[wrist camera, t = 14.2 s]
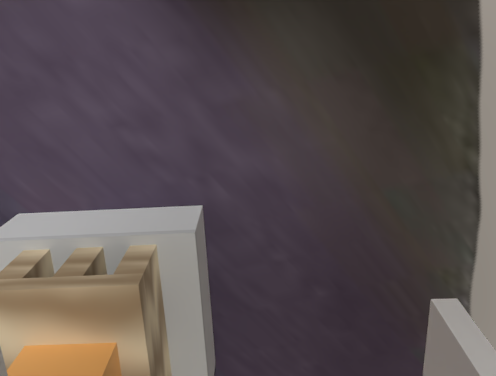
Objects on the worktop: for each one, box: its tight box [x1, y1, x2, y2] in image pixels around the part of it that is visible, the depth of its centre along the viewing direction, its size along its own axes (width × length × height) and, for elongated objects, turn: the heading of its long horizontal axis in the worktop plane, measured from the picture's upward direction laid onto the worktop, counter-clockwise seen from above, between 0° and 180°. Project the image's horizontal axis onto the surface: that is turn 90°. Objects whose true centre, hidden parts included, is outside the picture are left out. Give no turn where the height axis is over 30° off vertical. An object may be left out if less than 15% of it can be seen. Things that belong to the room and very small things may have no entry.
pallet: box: [0, 245, 172, 376], centre depth 34 cm, size 14×10×6 cm
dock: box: [0, 205, 215, 376], centre depth 40 cm, size 16×16×6 cm
